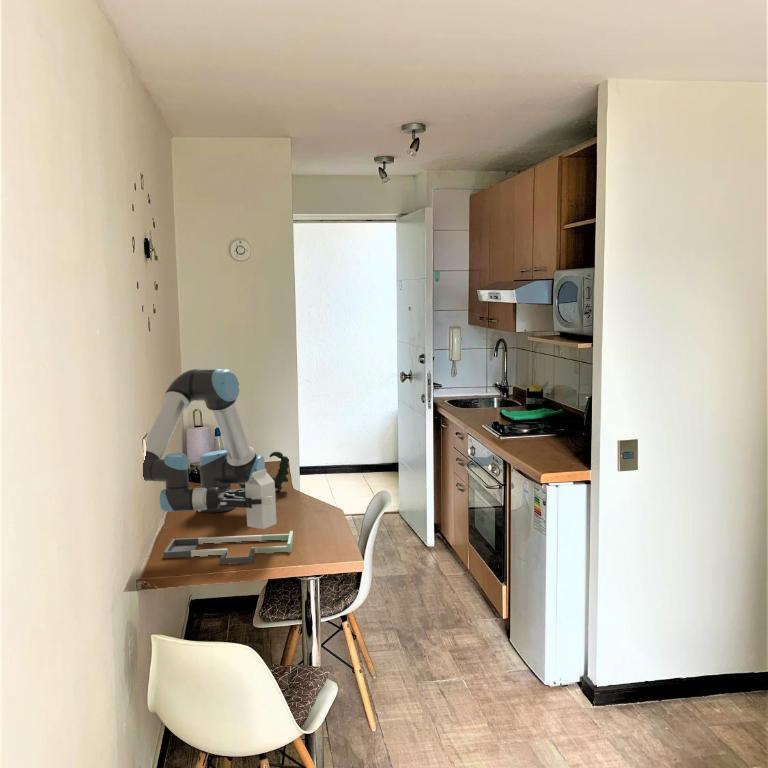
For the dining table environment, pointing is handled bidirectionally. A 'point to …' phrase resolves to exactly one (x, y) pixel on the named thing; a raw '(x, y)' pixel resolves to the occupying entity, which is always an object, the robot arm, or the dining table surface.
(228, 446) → the robot arm
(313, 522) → the dining table surface
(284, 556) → the dining table surface
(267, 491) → the milk carton
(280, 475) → the toy figurine
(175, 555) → the trap lane
